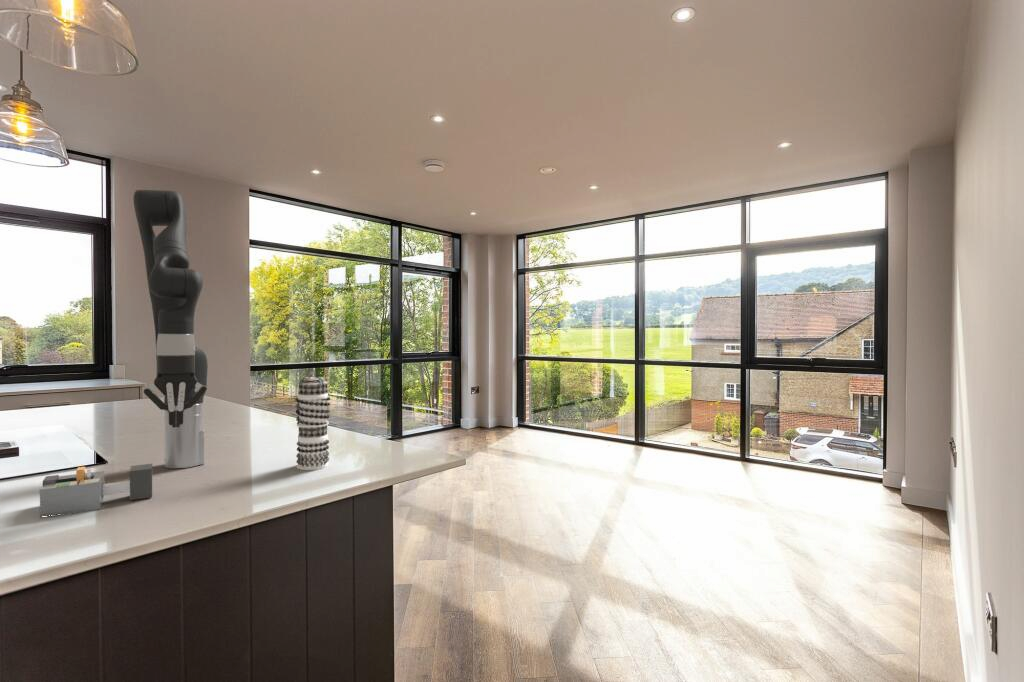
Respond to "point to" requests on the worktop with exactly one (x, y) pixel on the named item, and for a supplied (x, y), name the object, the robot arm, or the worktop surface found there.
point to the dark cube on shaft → (131, 483)
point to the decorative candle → (312, 423)
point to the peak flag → (80, 473)
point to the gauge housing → (71, 494)
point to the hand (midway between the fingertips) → (175, 426)
